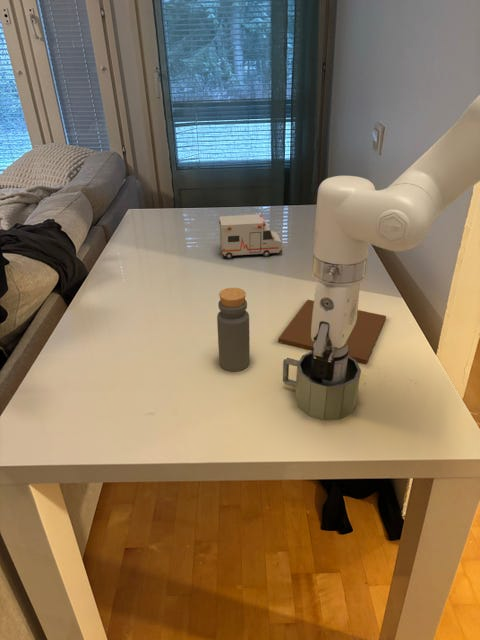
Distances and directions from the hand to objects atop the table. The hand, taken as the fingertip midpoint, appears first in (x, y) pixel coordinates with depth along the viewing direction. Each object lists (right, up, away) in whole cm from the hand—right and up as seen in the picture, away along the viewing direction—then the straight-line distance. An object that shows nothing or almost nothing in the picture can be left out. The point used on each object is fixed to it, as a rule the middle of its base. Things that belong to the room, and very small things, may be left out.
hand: (328, 366), depth 76 cm
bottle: (-16, -1, +13) cm, 21 cm away
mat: (+5, +5, +22) cm, 24 cm away
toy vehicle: (-11, +27, +59) cm, 66 cm away
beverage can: (0, -6, +4) cm, 7 cm away
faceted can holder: (-1, -6, +4) cm, 7 cm away
